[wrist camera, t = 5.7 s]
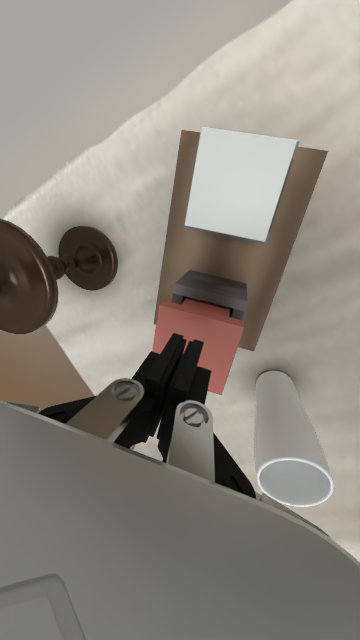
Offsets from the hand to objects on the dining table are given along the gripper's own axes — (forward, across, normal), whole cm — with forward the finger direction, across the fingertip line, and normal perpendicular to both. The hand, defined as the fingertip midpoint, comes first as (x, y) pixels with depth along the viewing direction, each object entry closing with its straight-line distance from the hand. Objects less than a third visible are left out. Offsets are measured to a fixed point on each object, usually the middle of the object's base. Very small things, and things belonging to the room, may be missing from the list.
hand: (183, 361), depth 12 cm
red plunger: (+14, 0, +3) cm, 14 cm away
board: (+21, 0, -3) cm, 21 cm away
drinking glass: (+21, -12, +14) cm, 28 cm away
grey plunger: (+18, 0, -9) cm, 20 cm away
